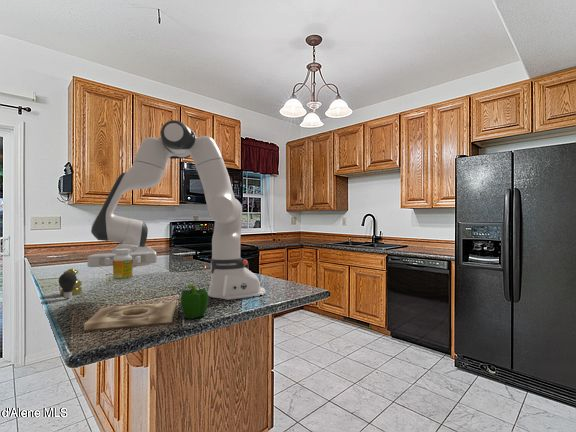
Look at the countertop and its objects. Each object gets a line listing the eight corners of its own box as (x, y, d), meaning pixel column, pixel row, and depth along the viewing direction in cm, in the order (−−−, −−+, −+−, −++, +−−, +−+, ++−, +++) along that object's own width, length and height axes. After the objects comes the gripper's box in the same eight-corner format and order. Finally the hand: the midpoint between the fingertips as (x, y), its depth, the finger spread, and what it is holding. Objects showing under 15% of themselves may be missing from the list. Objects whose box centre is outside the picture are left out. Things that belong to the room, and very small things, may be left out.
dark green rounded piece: (54, 295, 124) (54, 270, 124) (71, 291, 131) (72, 267, 131) (70, 296, 122) (70, 270, 122) (86, 292, 129) (86, 267, 129)
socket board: (175, 308, 105) (175, 302, 105) (171, 323, 90) (171, 316, 90) (101, 313, 99) (101, 307, 99) (84, 331, 84) (84, 323, 84)
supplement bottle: (124, 282, 96) (124, 250, 96) (109, 281, 97) (108, 250, 97) (136, 278, 101) (136, 248, 101) (121, 278, 102) (121, 248, 102)
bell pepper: (197, 310, 102) (197, 280, 102) (213, 315, 97) (213, 283, 97) (174, 317, 96) (174, 284, 96) (189, 322, 91) (189, 288, 91)
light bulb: (64, 297, 121) (64, 271, 121) (79, 296, 122) (79, 270, 122) (55, 301, 115) (55, 273, 116) (71, 300, 116) (71, 273, 116)
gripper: (89, 249, 106) (83, 253, 94) (155, 246, 115) (157, 249, 103) (89, 268, 106) (83, 274, 94) (155, 263, 115) (157, 269, 103)
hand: (122, 261), depth 98 cm, fingers closed on supplement bottle, 5 cm apart
